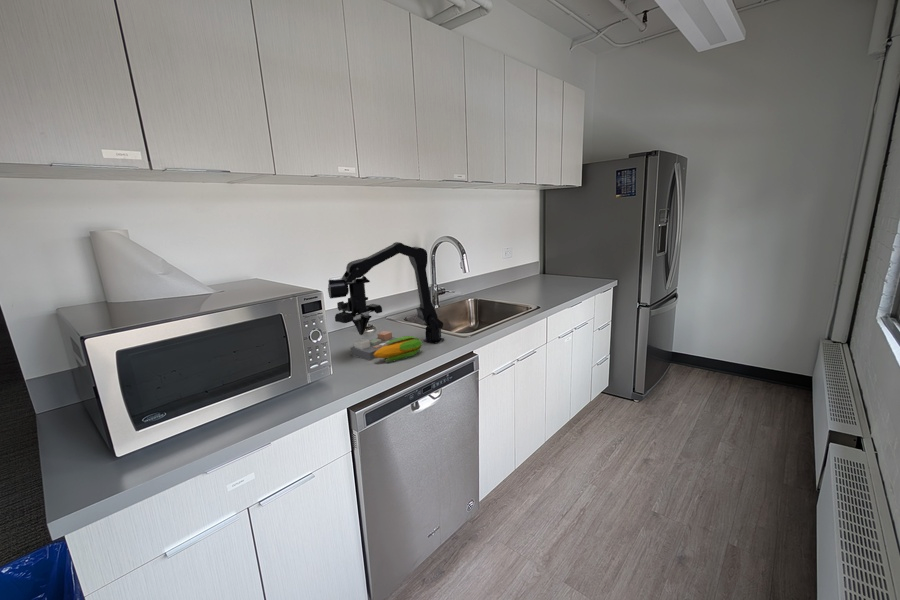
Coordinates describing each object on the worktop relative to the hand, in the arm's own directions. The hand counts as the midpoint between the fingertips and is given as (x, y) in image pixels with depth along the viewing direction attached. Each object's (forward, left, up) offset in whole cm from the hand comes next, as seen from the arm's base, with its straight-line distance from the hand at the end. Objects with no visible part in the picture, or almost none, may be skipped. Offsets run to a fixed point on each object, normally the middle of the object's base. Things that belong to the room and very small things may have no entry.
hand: (361, 334), depth 154 cm
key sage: (-6, 0, -8) cm, 10 cm away
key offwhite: (0, 0, -6) cm, 6 cm away
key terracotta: (-12, 0, -6) cm, 13 cm away
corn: (-5, +15, -8) cm, 18 cm away
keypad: (-6, +2, -8) cm, 10 cm away
